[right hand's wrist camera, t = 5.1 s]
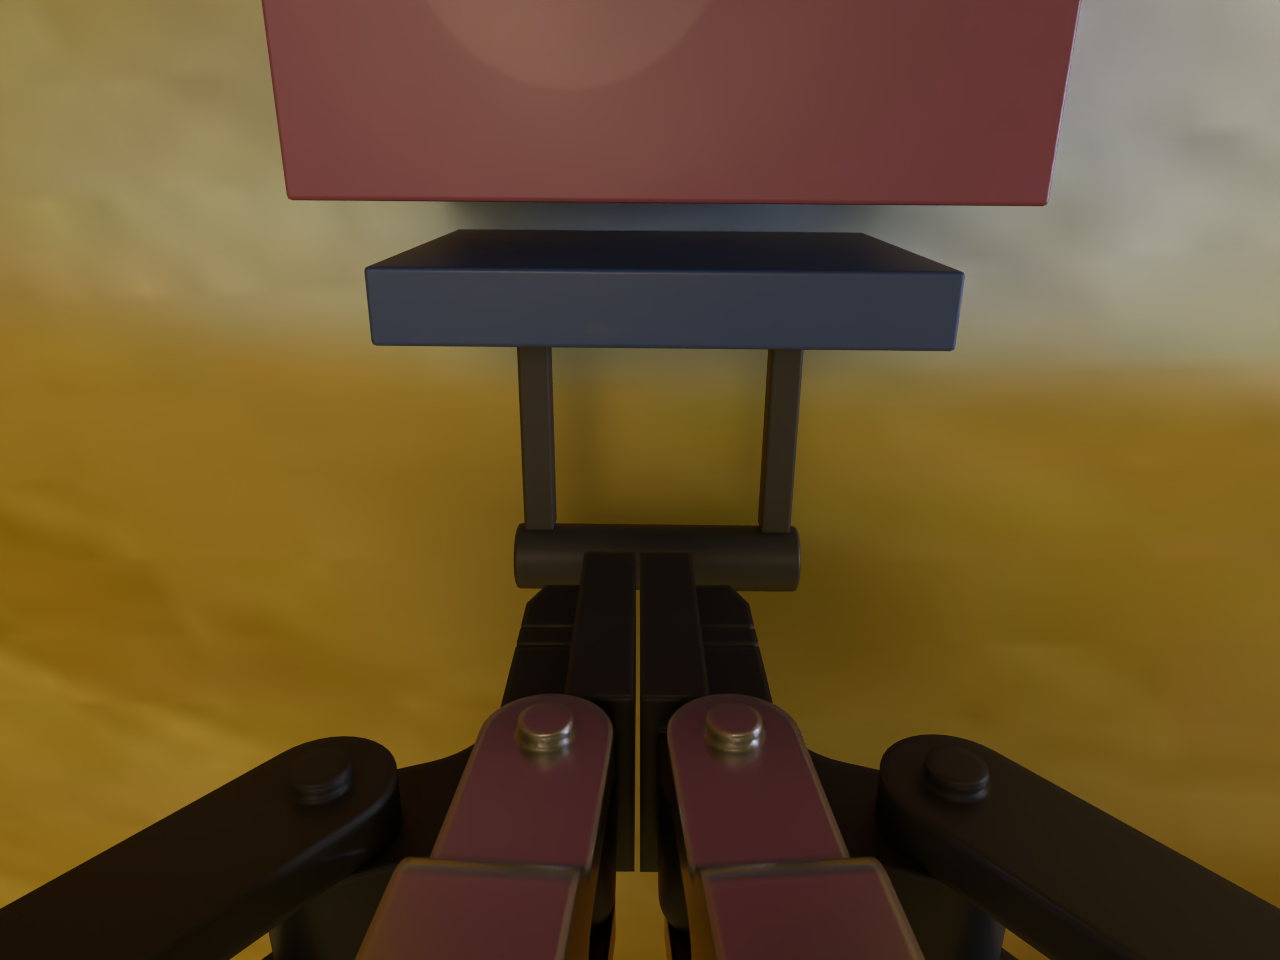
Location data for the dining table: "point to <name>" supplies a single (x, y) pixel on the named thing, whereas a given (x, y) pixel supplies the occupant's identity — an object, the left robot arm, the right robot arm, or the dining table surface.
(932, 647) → the dining table surface
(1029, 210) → the dining table surface
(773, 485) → the drawer
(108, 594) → the dining table surface
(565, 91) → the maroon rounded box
